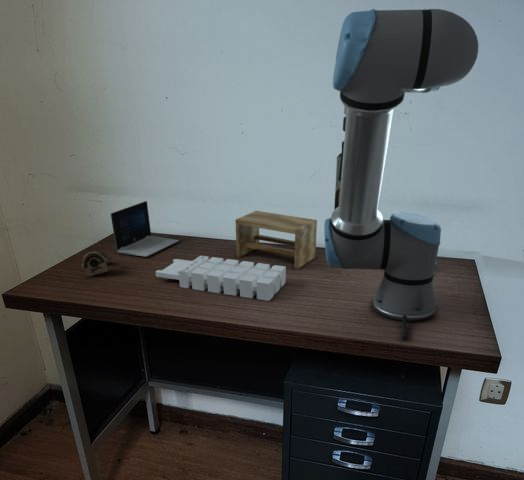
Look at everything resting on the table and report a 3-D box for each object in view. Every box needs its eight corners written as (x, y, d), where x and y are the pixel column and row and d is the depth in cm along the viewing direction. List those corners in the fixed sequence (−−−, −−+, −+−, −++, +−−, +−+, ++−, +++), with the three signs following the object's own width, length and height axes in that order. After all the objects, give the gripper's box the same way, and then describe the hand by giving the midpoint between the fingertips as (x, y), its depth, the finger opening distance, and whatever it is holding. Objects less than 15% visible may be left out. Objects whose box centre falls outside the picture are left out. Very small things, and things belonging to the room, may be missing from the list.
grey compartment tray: (269, 283, 128) (152, 267, 139) (269, 300, 130) (154, 283, 142) (285, 266, 138) (176, 252, 150) (285, 282, 141) (177, 267, 152)
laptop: (146, 258, 159) (141, 217, 152) (116, 252, 164) (109, 213, 157) (179, 242, 173) (175, 204, 166) (150, 237, 178) (146, 200, 171)
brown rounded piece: (67, 259, 143) (96, 254, 140) (89, 241, 153) (117, 236, 150) (78, 281, 147) (106, 277, 144) (99, 262, 157) (126, 258, 154)
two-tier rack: (297, 269, 150) (298, 230, 144) (236, 256, 160) (235, 219, 154) (315, 257, 158) (317, 220, 152) (256, 246, 169) (255, 210, 163)
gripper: (358, 112, 143) (352, 193, 155) (328, 118, 128) (324, 207, 140) (383, 113, 140) (375, 196, 151) (356, 119, 125) (349, 211, 136)
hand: (350, 201), depth 145 cm, fingers closed on coffee box, 7 cm apart
